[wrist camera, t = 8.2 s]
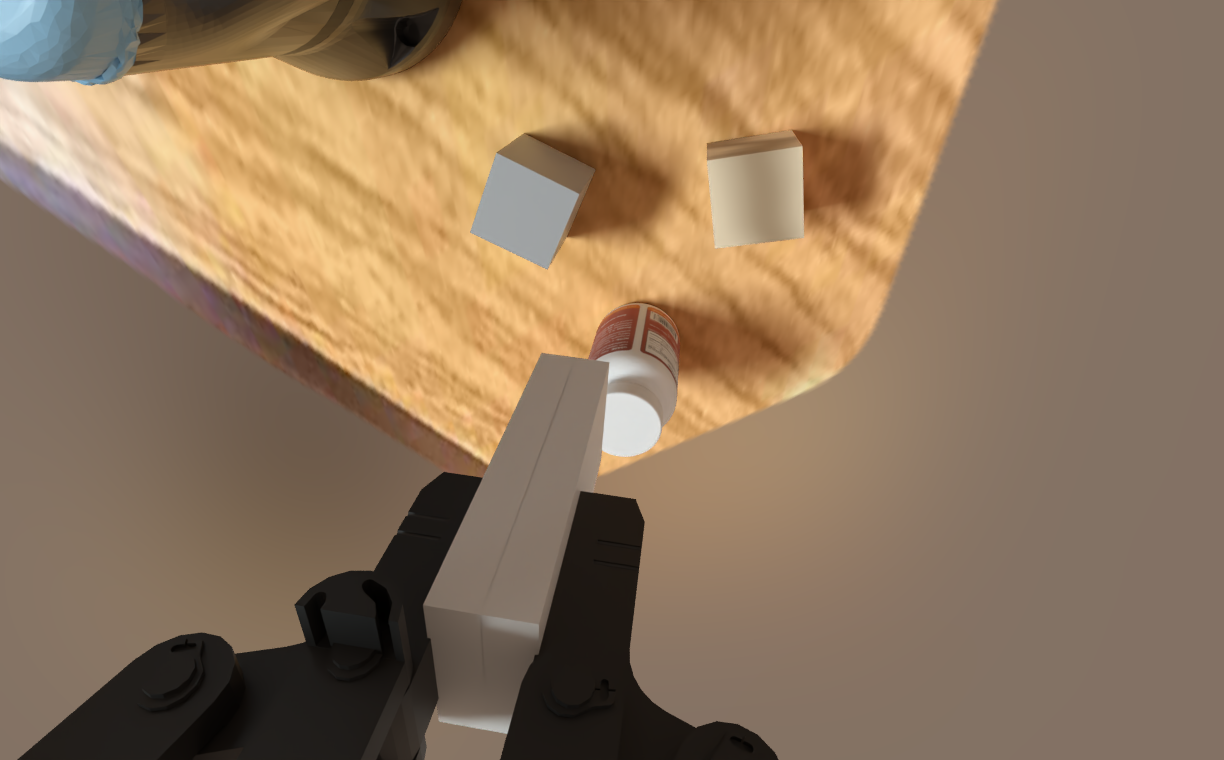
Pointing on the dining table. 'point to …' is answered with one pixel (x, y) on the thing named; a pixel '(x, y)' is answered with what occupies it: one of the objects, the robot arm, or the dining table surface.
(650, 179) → the dining table surface
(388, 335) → the dining table surface
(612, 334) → the pill bottle
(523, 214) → the grey block
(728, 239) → the maple block
